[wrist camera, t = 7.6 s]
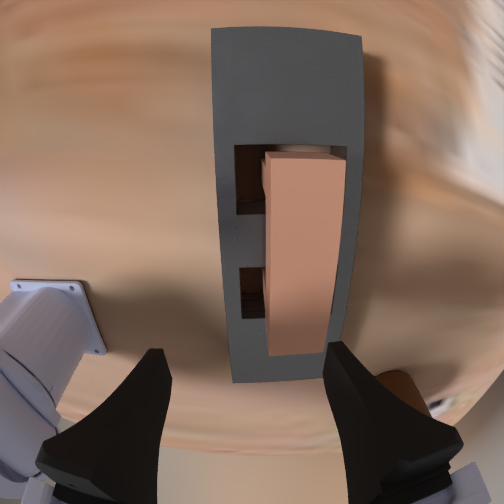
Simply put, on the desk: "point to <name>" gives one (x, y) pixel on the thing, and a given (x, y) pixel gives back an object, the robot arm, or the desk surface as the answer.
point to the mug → (404, 389)
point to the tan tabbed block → (301, 247)
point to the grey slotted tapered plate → (282, 132)
